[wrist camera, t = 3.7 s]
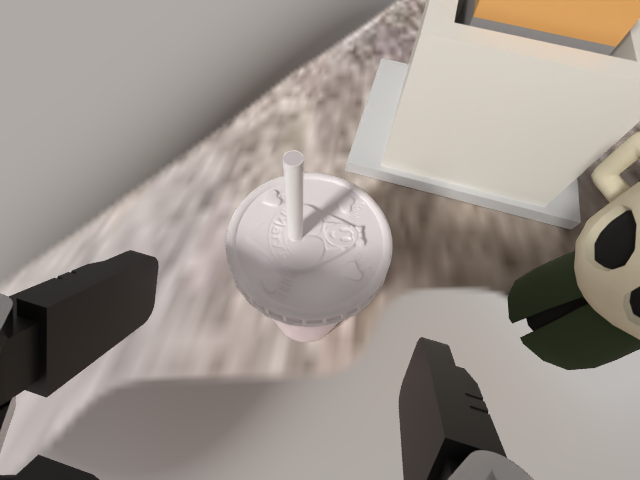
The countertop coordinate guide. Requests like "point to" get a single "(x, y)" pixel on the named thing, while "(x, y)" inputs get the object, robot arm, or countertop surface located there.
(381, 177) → the white open box
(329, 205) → the smoothie
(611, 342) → the character mug
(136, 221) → the countertop surface
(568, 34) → the orange block
